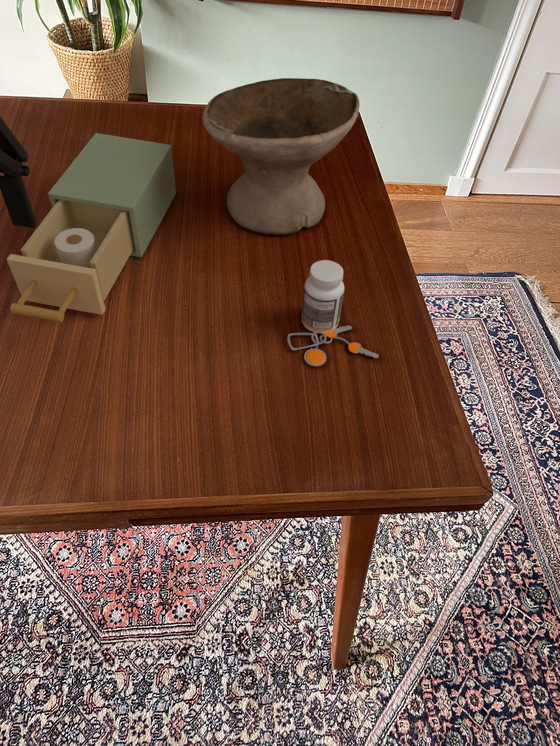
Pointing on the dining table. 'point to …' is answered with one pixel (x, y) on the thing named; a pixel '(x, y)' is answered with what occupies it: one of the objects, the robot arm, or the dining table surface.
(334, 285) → the pill bottle
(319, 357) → the key chain
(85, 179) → the cabinet
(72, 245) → the paper roll
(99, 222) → the drawer
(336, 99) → the bowl
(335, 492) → the dining table surface
